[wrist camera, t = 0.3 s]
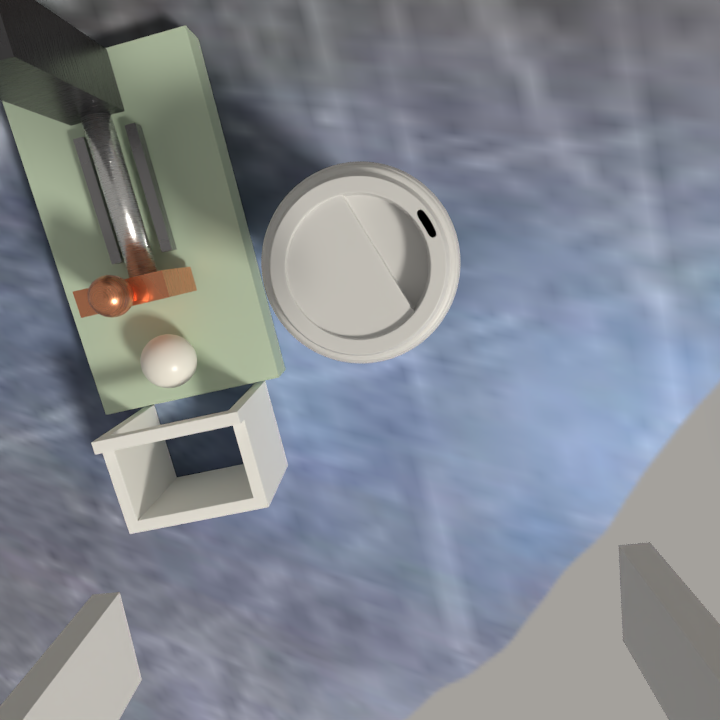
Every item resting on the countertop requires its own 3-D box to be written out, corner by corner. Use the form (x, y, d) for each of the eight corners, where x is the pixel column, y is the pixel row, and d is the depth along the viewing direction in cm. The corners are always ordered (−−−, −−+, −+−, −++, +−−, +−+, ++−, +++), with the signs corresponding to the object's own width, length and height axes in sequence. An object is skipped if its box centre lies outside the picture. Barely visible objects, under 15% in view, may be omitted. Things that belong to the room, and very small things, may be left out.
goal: (144, 407, 43) (91, 442, 35) (265, 380, 42) (237, 411, 34) (170, 488, 44) (124, 540, 37) (288, 465, 43) (266, 512, 36)
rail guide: (80, 141, 37) (72, 139, 36) (141, 125, 36) (135, 122, 35) (118, 263, 38) (111, 264, 37) (177, 249, 38) (171, 249, 37)
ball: (147, 336, 39) (123, 345, 36) (196, 325, 39) (176, 333, 35) (162, 385, 40) (140, 399, 36) (210, 374, 40) (192, 388, 36)
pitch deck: (18, 89, 39) (-5, 79, 36) (198, 38, 37) (185, 25, 35) (121, 405, 43) (105, 414, 41) (285, 369, 42) (279, 377, 39)
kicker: (44, 72, 35) (-112, -4, 24) (128, 49, 35) (6, -40, 24) (120, 314, 38) (11, 343, 27) (198, 296, 38) (119, 318, 27)
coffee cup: (447, 313, 40) (479, 354, 26) (316, 335, 41) (275, 387, 26) (426, 175, 38) (449, 134, 24) (290, 201, 39) (230, 177, 25)
